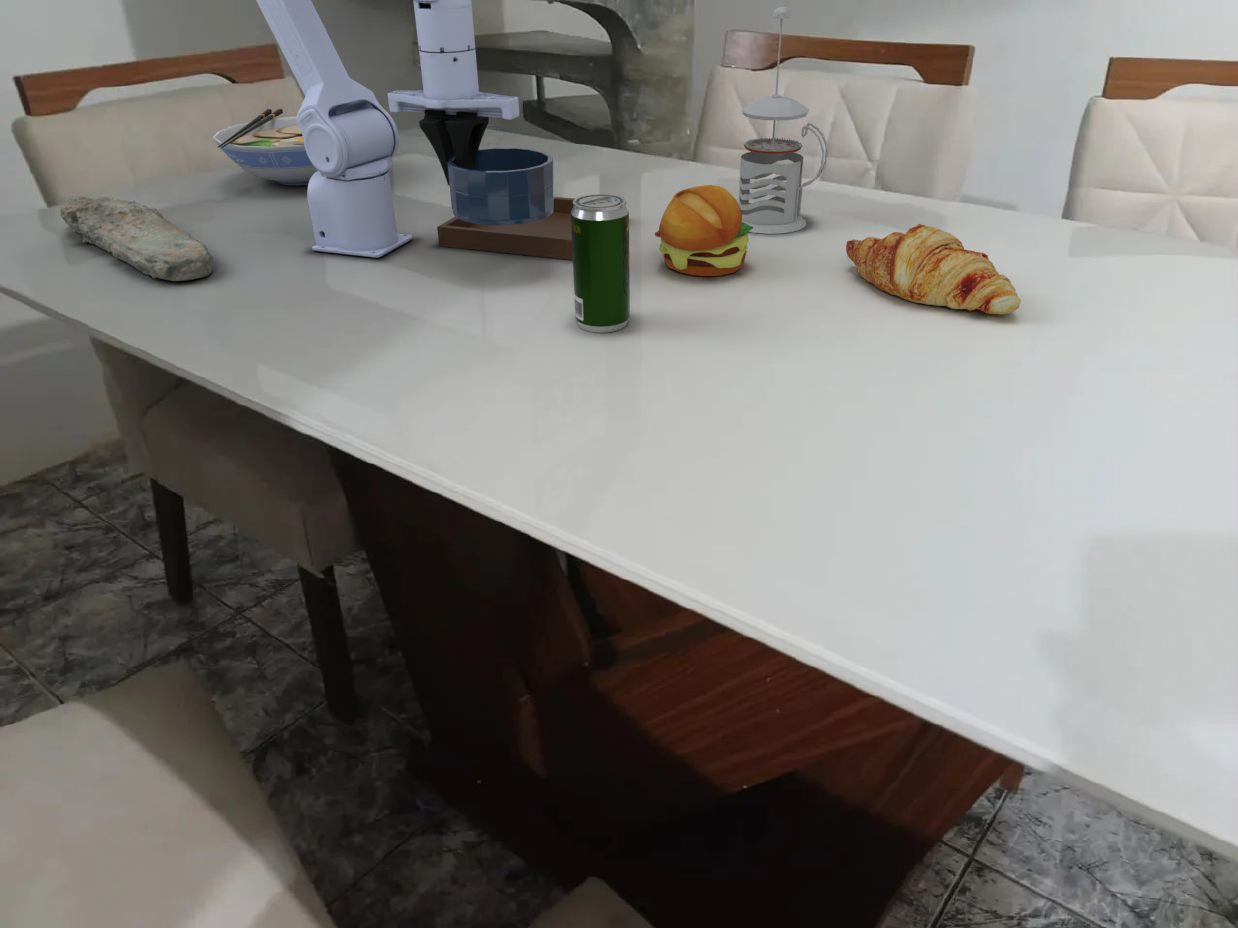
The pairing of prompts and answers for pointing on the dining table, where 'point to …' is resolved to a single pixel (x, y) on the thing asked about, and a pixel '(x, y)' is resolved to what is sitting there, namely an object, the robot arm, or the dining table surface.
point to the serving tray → (516, 235)
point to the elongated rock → (138, 237)
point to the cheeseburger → (703, 232)
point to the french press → (756, 164)
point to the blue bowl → (503, 187)
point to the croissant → (933, 271)
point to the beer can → (601, 262)
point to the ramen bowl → (269, 148)
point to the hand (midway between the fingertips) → (460, 184)
